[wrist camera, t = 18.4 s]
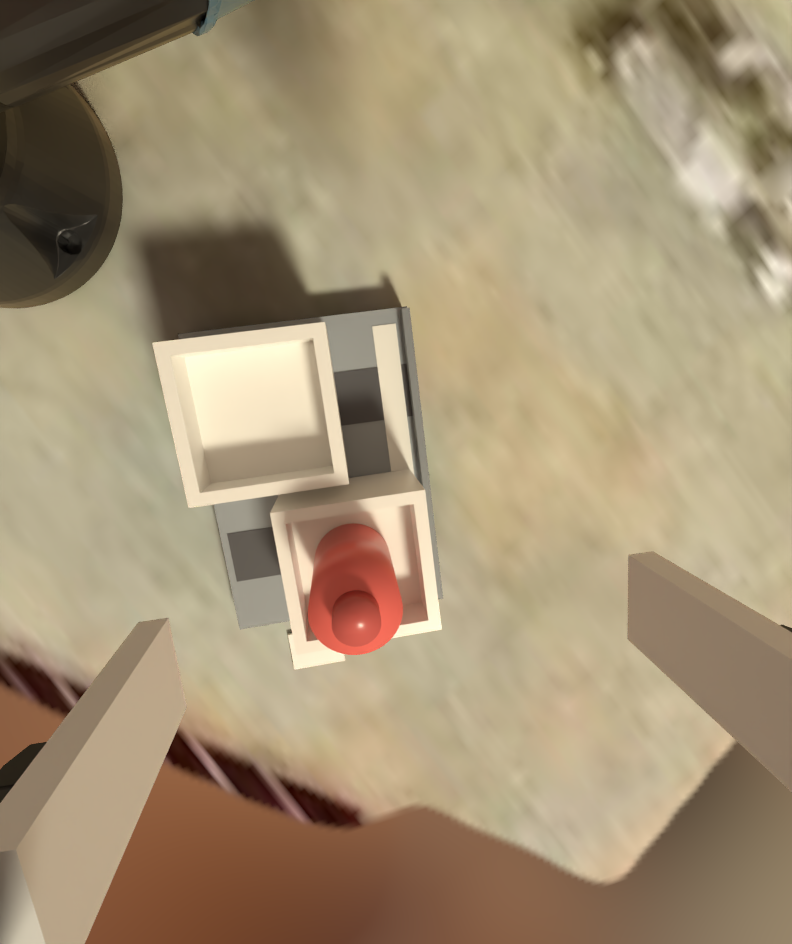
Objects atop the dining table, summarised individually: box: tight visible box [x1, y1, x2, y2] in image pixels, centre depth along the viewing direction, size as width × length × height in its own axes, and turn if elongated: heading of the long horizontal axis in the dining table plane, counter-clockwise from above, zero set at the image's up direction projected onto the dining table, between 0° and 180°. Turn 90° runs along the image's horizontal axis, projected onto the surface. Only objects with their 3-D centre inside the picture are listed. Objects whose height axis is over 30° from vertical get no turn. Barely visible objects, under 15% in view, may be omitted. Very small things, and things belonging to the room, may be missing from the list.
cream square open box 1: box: [152, 322, 349, 508], centre depth 31 cm, size 9×9×6 cm
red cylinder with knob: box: [308, 523, 403, 655], centre depth 28 cm, size 5×5×8 cm
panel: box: [178, 307, 443, 670], centre depth 36 cm, size 15×26×3 cm, turn 7°
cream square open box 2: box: [270, 469, 442, 655], centre depth 33 cm, size 9×9×6 cm
